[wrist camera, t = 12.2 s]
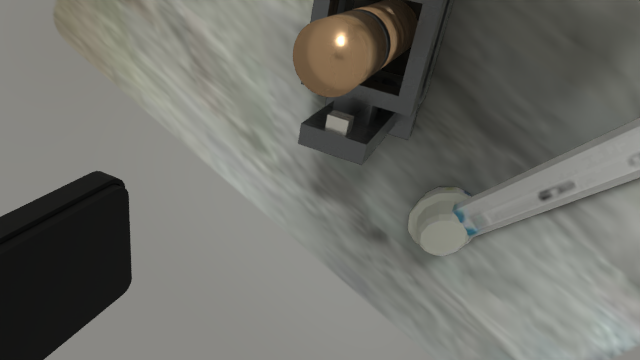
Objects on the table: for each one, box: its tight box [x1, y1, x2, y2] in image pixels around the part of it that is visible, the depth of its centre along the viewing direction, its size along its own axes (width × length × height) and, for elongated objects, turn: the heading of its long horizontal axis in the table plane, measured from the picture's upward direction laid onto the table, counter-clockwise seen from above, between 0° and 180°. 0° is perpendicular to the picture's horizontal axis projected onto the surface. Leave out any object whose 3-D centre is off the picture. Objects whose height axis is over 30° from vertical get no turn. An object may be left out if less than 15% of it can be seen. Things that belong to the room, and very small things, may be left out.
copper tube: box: [293, 0, 418, 97], centre depth 33 cm, size 4×4×14 cm
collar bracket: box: [298, 0, 453, 165], centre depth 35 cm, size 9×13×10 cm
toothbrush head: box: [408, 118, 640, 256], centre depth 36 cm, size 5×7×25 cm
